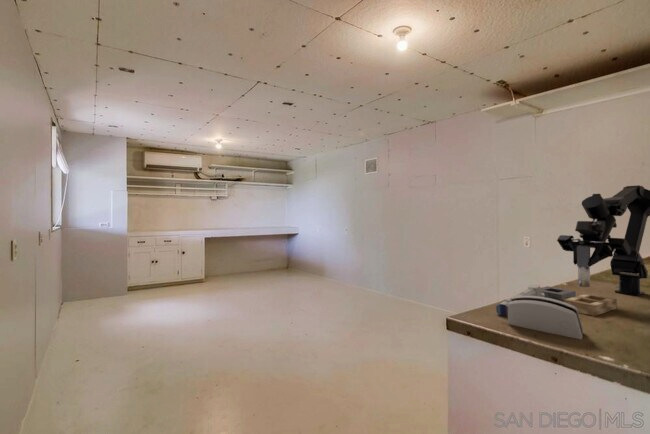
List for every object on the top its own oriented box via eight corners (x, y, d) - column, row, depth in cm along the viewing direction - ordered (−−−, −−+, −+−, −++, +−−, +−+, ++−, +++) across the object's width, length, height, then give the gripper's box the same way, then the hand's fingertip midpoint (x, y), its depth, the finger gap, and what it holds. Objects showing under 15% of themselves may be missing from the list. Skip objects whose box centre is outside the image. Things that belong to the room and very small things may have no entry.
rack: (586, 302, 110) (586, 293, 110) (616, 308, 103) (616, 298, 103) (564, 309, 104) (564, 299, 104) (594, 316, 97) (594, 305, 97)
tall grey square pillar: (579, 284, 109) (578, 245, 109) (590, 285, 107) (590, 245, 107) (577, 286, 107) (576, 246, 107) (589, 287, 105) (588, 246, 105)
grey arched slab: (585, 333, 84) (582, 299, 81) (582, 345, 80) (579, 310, 78) (512, 319, 96) (508, 289, 93) (507, 329, 92) (502, 297, 90)
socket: (547, 294, 122) (547, 286, 122) (575, 299, 114) (575, 291, 114) (533, 297, 117) (533, 289, 117) (561, 303, 109) (561, 294, 109)
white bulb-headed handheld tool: (492, 301, 101) (529, 279, 115) (494, 322, 101) (531, 297, 116) (510, 305, 96) (546, 281, 111) (512, 327, 97) (548, 300, 111)
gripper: (559, 212, 117) (540, 245, 112) (625, 211, 100) (606, 251, 95) (573, 233, 120) (555, 266, 116) (639, 236, 103) (621, 275, 99)
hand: (581, 264), depth 106 cm, fingers closed on tall grey square pillar, 4 cm apart
